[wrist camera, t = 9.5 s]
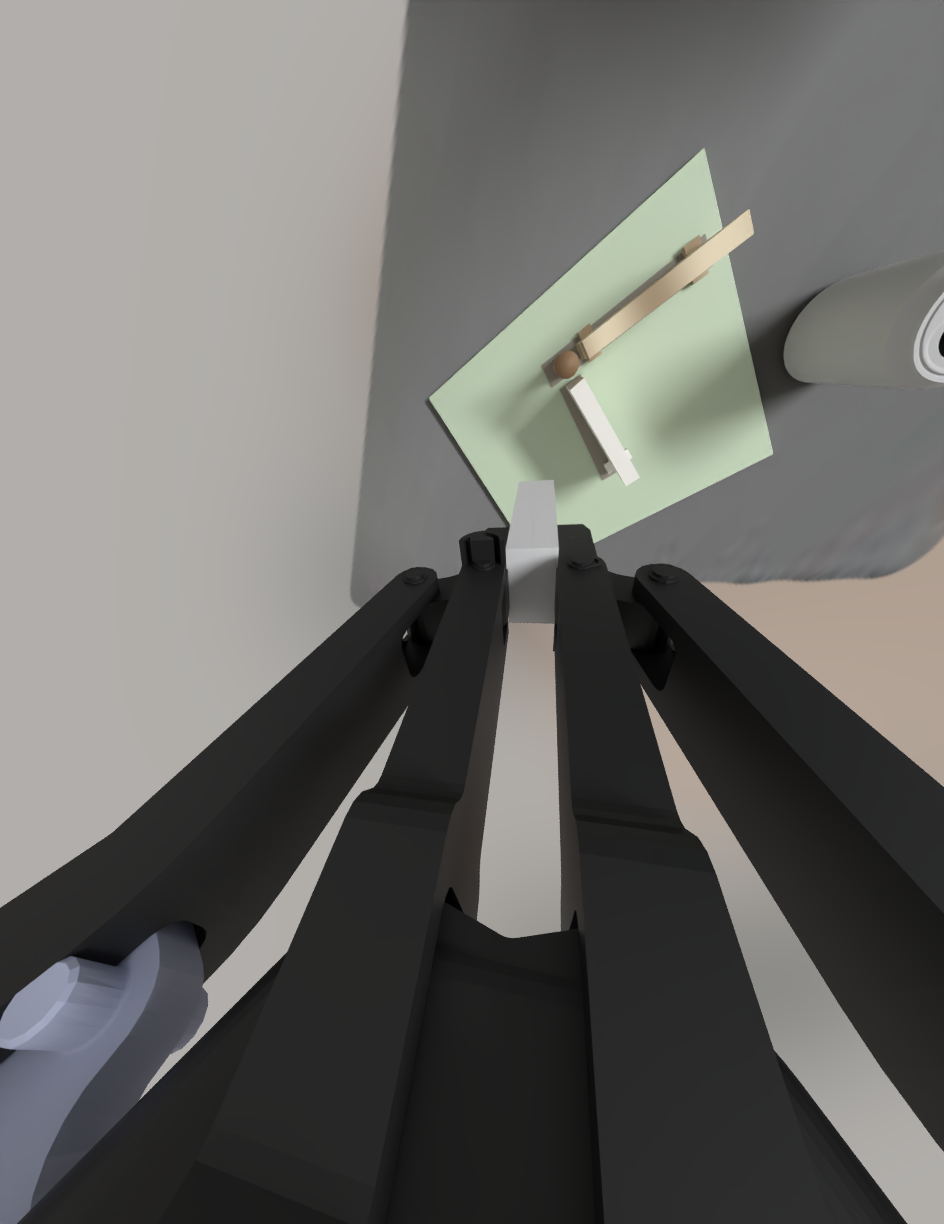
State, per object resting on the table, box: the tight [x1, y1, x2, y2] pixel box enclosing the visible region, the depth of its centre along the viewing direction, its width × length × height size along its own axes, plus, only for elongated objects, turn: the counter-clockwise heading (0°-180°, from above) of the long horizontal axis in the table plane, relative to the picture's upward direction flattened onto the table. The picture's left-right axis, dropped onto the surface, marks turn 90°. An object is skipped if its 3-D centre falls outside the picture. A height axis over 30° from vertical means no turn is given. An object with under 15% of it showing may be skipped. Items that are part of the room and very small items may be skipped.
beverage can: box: [784, 249, 944, 390], centre depth 21 cm, size 6×6×12 cm
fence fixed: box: [553, 209, 754, 379], centre depth 24 cm, size 12×2×8 cm, turn 125°
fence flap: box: [566, 376, 640, 486], centre depth 29 cm, size 9×2×6 cm, turn 40°
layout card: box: [429, 149, 773, 543], centre depth 32 cm, size 24×22×1 cm
